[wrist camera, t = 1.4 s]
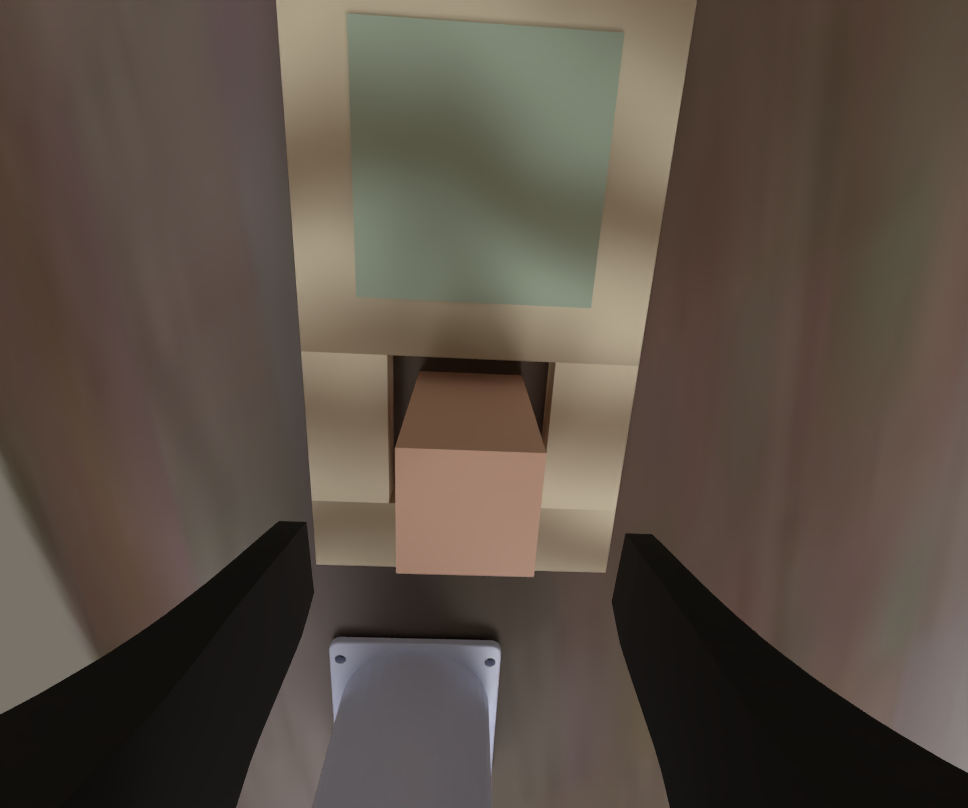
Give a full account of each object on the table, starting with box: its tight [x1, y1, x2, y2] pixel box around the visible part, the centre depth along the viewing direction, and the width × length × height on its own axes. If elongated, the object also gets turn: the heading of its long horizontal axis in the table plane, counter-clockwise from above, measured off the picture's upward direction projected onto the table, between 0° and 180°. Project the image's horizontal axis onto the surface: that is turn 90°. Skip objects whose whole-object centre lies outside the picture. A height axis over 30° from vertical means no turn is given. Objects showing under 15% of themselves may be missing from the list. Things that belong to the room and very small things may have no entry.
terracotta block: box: [395, 371, 546, 577], centre depth 18 cm, size 4×4×7 cm
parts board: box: [276, 0, 697, 573], centre depth 19 cm, size 20×12×2 cm, turn 177°
